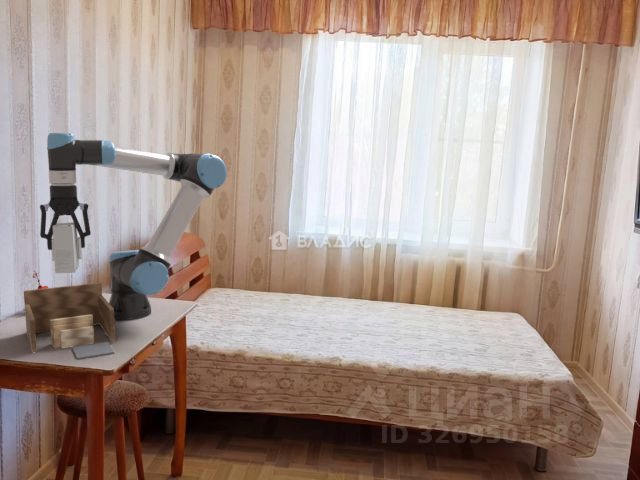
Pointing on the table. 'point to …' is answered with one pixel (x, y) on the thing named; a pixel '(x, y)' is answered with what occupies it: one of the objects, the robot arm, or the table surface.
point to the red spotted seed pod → (38, 282)
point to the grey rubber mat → (93, 350)
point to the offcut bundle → (72, 331)
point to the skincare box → (65, 247)
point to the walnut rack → (66, 308)
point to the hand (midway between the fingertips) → (67, 259)
